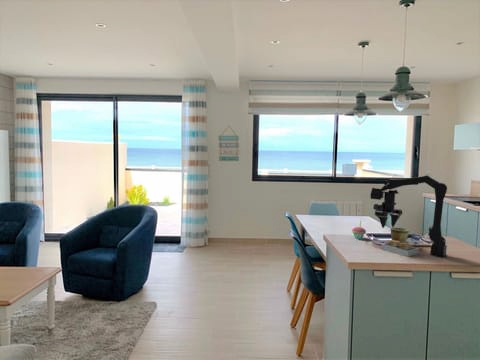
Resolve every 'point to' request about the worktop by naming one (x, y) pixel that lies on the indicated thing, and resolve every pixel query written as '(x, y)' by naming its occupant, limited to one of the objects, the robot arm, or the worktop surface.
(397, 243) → the block
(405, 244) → the block
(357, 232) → the cupcake
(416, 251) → the tray
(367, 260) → the worktop surface
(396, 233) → the ceramic cup
